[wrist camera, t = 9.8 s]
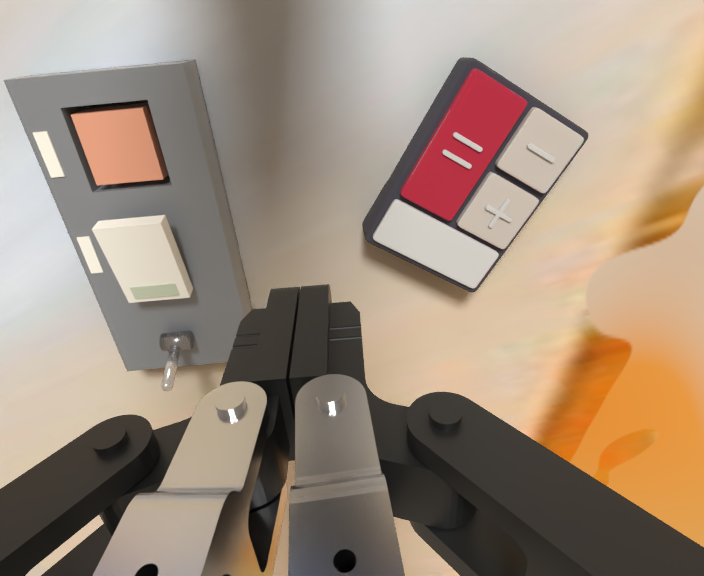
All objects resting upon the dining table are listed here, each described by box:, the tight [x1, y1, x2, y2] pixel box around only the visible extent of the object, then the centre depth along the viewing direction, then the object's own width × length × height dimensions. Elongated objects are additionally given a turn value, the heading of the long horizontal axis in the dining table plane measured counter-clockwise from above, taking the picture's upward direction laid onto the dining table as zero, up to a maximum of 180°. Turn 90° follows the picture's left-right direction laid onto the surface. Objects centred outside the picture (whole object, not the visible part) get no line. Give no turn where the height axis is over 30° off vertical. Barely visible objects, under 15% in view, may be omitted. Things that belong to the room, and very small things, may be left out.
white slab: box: [92, 215, 193, 303], centre depth 36 cm, size 7×5×1 cm
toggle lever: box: [159, 331, 194, 391], centre depth 39 cm, size 2×2×6 cm
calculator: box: [363, 58, 588, 292], centre depth 37 cm, size 11×4×15 cm
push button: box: [71, 103, 169, 185], centre depth 34 cm, size 5×5×3 cm
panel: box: [4, 60, 252, 371], centre depth 38 cm, size 25×12×4 cm, turn 5°
